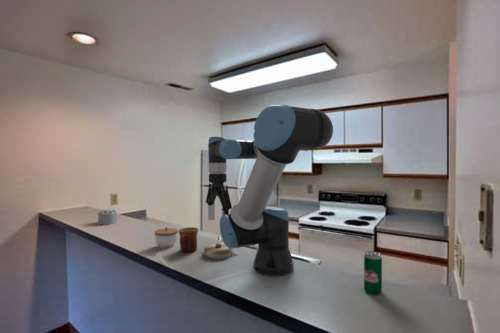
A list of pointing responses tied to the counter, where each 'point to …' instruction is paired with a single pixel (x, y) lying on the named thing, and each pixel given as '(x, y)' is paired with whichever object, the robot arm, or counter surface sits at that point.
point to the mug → (188, 239)
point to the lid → (217, 251)
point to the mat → (218, 259)
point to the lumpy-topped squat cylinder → (107, 217)
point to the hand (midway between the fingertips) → (218, 222)
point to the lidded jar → (166, 237)
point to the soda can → (373, 273)
